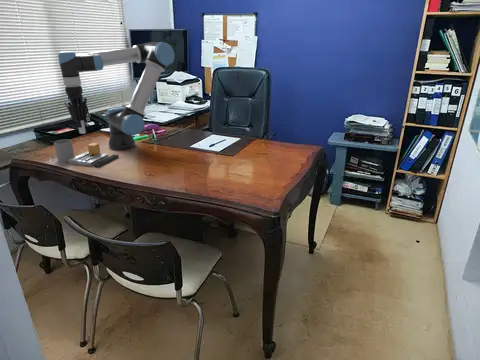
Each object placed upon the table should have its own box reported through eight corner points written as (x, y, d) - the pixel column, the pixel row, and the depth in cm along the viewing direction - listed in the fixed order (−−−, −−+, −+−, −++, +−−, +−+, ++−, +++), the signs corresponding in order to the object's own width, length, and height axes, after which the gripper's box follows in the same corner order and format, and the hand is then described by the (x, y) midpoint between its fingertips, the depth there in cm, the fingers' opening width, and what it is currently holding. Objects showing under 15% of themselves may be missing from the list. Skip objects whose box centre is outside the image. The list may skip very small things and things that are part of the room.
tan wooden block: (94, 152, 188) (92, 142, 186) (100, 153, 187) (98, 143, 185) (89, 154, 184) (87, 144, 182) (95, 155, 183) (93, 145, 181)
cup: (56, 162, 179) (52, 144, 175) (59, 157, 186) (55, 139, 182) (73, 161, 181) (70, 143, 177) (76, 156, 188) (72, 138, 184)
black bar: (113, 156, 188) (113, 154, 187) (118, 157, 187) (118, 154, 186) (93, 167, 173) (92, 164, 172) (98, 167, 172) (98, 164, 171)
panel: (87, 155, 190) (86, 150, 189) (108, 157, 186) (108, 152, 185) (68, 163, 178) (67, 158, 177) (91, 166, 174) (90, 161, 173)
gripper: (76, 83, 172) (85, 129, 181) (56, 87, 160) (67, 136, 170) (88, 84, 170) (97, 130, 179) (69, 88, 158) (80, 137, 168)
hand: (82, 133), depth 175 cm, fingers closed
